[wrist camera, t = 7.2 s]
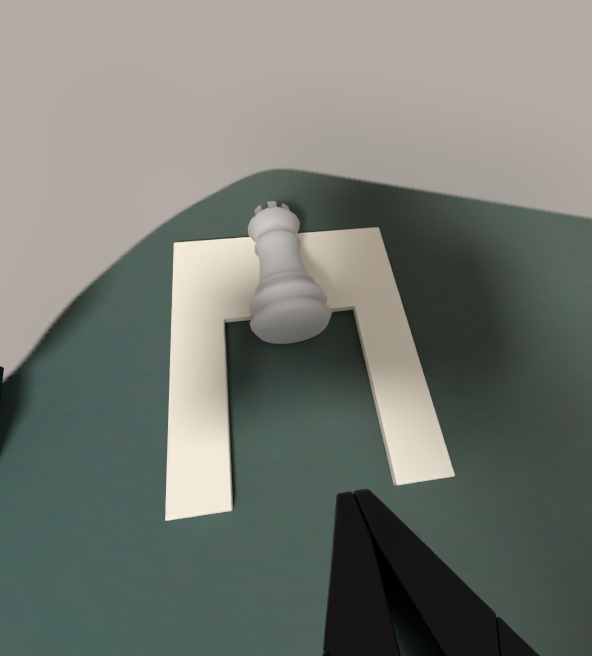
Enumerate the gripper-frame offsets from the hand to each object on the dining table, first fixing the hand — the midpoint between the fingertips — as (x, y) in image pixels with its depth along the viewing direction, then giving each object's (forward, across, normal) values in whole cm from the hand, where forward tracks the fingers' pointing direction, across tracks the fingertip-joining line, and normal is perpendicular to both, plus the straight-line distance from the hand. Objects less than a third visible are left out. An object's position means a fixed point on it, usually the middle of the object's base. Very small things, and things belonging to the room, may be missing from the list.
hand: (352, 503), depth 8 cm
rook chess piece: (+10, 0, -1) cm, 10 cm away
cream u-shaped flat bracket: (+11, 0, 0) cm, 11 cm away
